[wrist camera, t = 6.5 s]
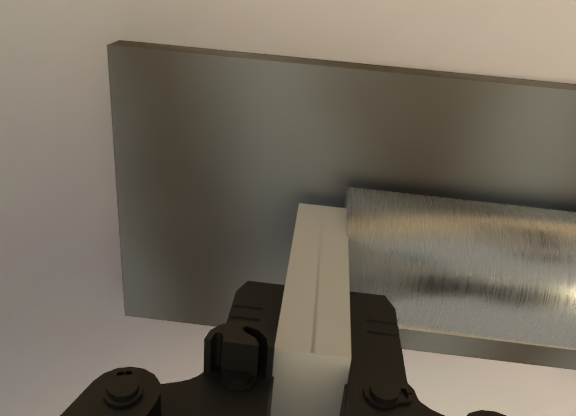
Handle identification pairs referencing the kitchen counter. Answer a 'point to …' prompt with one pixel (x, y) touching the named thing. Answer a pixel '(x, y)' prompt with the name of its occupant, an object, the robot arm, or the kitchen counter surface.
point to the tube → (466, 265)
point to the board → (310, 165)
